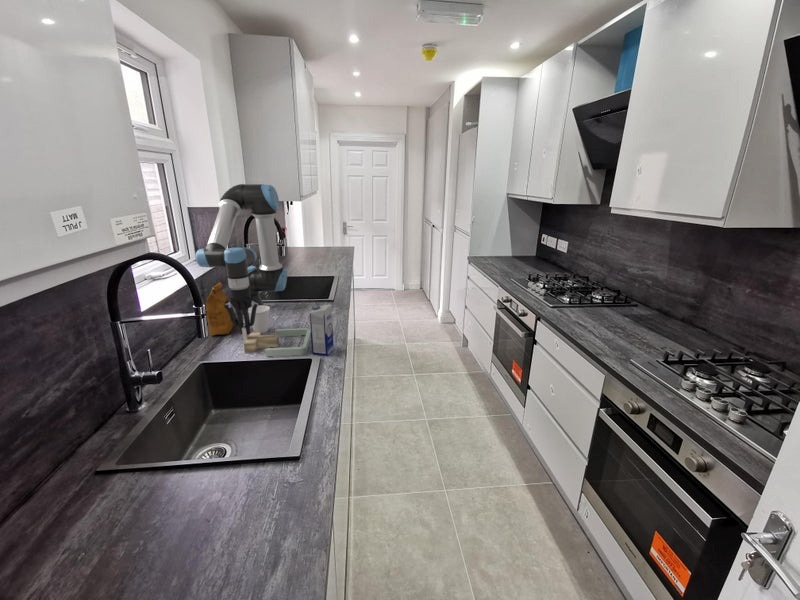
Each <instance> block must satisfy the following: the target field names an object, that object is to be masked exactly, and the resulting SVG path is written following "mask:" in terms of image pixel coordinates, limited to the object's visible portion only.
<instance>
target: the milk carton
mask: <svg viewBox="0 0 800 600" xmlns="http://www.w3.org/2000/svg"><path fill="white" fill-rule="evenodd" d="M332 305H333V304H323V305H321V306H320V304H318V305H315V306H313V307H312V310H311V311H310V312H308V318H309V328H310V333H311V339H310V344H311V345H310V346H311V348H310V349H311V355H312V354H313V355H314V356H323V357H328V356H329V355H330V354H331V353H332V352H333V350H334V349H335V347H334V344H335V342H334V330H333V329H334V326H333V325H334V324H333V308H332ZM313 355H312V356H313Z"/></svg>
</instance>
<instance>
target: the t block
mask: <svg viewBox="0 0 800 600" xmlns="http://www.w3.org/2000/svg"><path fill="white" fill-rule="evenodd" d="M279 345H280V337H279V335H276V334H268V335H267V334H263V333H262V332H254V331H251V332H250V334H249V337H248V338H247V340H246V341H245V343H244V342H243V348H244V353H245V354H247V353H249V354H250V353H251V354H252V352H255V353H256V352H257V350H258V349H267V348H270V347H275V348H279ZM257 348H258V349H257Z"/></svg>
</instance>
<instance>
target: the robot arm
mask: <svg viewBox="0 0 800 600" xmlns="http://www.w3.org/2000/svg"><path fill="white" fill-rule="evenodd" d="M218 208H219V210H218V213H217V215H216V218H215V221H214V224H213V227H212V230H211V233H210V235H209V238H208V242H207V244H206V247H205V248H199V249H198V250H196V253H195V260H196V263H197V264H198V266H199V267H201V268H226V274H227V282H228V287H229V290H228V291H229V297H230V299H229V300H230V302H229V303H227V304H226V305H225V306H224V307H225V308H226V309H227V310H228V312H229V315H230V317H231V320H232V322H233V324H234V326H233V327H234V328H235V327H237V328H239V334H240V336H242V340H243V344H244V343H245V341H246V340H247V338H248V337H249V335H250V334H251V333H252V331H251V327H252V326H253V324H254V322H255V315H256V308H257V306H261V305H262V306H265V304H264V302H263V300H262V298H261V296H260V292H275V293H276V292H282V291H284V290H285V289H286V286H287V282H288V281H287V280H288V272H287V269H286V268H283V264H282V263H280V261H279V254H278V253H279V251H278V243H277V235H276V227H275V215H277V211H278V210H280V209H279V208H280V200H279V195H278V191H277V190H276V188H275V187H274V186H273V185H271V184H265V183H264V184H263V183H262V184H259V183H256V184H253V183H252V184H249V183H248V184H247V183H246V184H245V183H240V184H236V185H233V186H231V187H230V188H229V189H227V190H226V191H225V192H224V194H223V195H222V196H221V198H220V199H219V201H218ZM243 210H250V214H251V216H252V217H254V219H255V226H256V234H257V240H258V241H257V242H258V249H259V255H260V262H261V264H260V265H259V267H258V269H257V267H256V266H254V264H255V262H256V261H257V258H258V256H257V252H256V251H255V249H253V248H252V247H246V246H245V247H230V248H228V246H229V242H230V239H231V236H232V232H233V229H234V226H235V223H236V220H237V217H238V216H239V215H240V214H241V212H242V211H243ZM250 307H253V308H252V312H251V319H250V318H249V312H248V308H250ZM236 313H237V314H236Z"/></svg>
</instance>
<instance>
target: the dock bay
mask: <svg viewBox="0 0 800 600" xmlns="http://www.w3.org/2000/svg"><path fill="white" fill-rule="evenodd" d="M274 332H275V335H279V338H280V337H303V336H302V335H306V336H304V340H303V344H302V346H296V347H295V346H294V347H291V346H290V347H275V348H265V357H266V356H278V357H289V356H288V355H300V356H307V354H308V350H309V346H310V343H311V333H310V327H305V328H303V327H301V328H278V329H275V331H274Z"/></svg>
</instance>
